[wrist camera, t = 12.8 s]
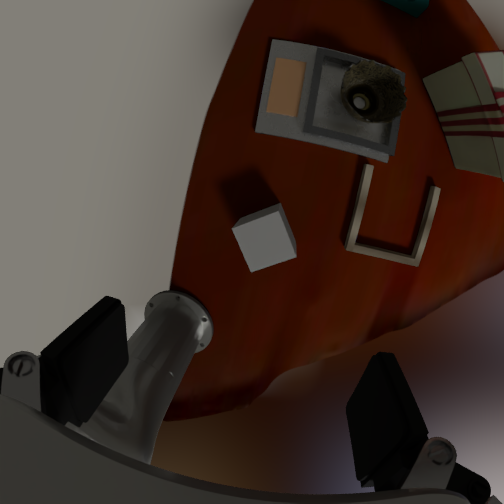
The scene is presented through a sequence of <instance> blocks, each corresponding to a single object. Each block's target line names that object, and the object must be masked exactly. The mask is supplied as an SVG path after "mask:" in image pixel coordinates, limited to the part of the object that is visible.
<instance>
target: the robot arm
mask: <svg viewBox="0 0 504 504" xmlns="http://www.w3.org/2000/svg"><path fill="white" fill-rule="evenodd" d="M212 336H213V322H212V319H211V317H210V315H209V313H208V311H207V310H206V309H205V307H204V306H203V305H202V304H201V303H200V302H199V301H198V300H196V299H195V298H193V297H192V296H190V295H188V294H186V293H183V292H179V291H173V290H170V291H163V292H160V293H158V294H156V295H154V296H153V297H152V298H151V299H150V301H149V302H148V303H147V305H146V307H145V321H144V322H143V323H142V324H141V326H140V327H139V328H138V329H137V330H136V331H135V333H134V334H133V335H132V336H131V337H130V339H129V340H128V341H127V334H126V321H125V307H124V305H123V304H121V301H120V300H119V299H116V298H113V297H109V296H105V297H104V298H103V299H101V300H100V301H99V302H98V303H96V304H95V305H94V306H93V307H92V308H90V309H89V310H88V311H87V312H86V313H84V314H83V315H82V316H81V317H80V318H79V319H77V320H76V321H75V322H74V323H73V324H72V325H70V326H69V327H68V328H67V329H66V330H65V331H64V332H62V333H61V334H60V335H59V336H58V337H57V338H56V339H55V340H53V341H52V342H51V343H50V344H49V345H48V346H47V347H46V348H44V349H43V350H42V351H41V355H39V356H36V355H34V354H33V353H30V352H26V351H21V352H16V353H14V354H12V355H10V356H9V357H8V358H7V360H6V361H5V363H4V368H0V504H502V503H501V502H500V501H499V500H498V499H497V498H496V497H495V496H494V495H493V496H491V497H490V494H491V488H490V485H489V483H488V481H487V480H486V479H485V478H483V477H482V476H480V475H478V474H476V473H475V472H472V471H471V470H469V469H467V468H465V467H463V466H462V465H460V464H458V463H456V457H457V454H456V450H455V448H454V446H453V445H452V444H451V443H450V442H449V441H448V440H446V439H444V438H442V437H433V438H430V439H428V437H427V434H428V433H429V432H428V430H427V427H426V425H425V422H424V420H423V417H422V415H421V413H420V410H419V408H418V406H417V403H416V401H415V399H414V397H413V394H412V392H411V390H410V387H409V385H408V383H407V381H406V379H405V377H404V374H403V372H402V370H401V368H400V366H399V364H398V362H397V360H396V358H395V355H394V354H393V353H386V352H378V353H377V354H376V355H373V356H372V358H371V360H370V362H369V363H368V366H367V368H366V370H365V371H364V374H363V375H362V377H361V379H360V381H359V383H358V385H357V387H356V388H355V390H354V392H353V394H352V396H351V397H350V399H349V401H348V403H347V406H346V415H347V420H348V426H349V432H350V438H351V444H352V450H353V457H354V464H355V471H356V477H357V480H359V481H360V482H361V487H373V486H374V489H375V492H370V493H356V494H355V493H354V494H315V495H314V494H291V493H278V492H268V491H259V490H251V489H245V488H238V487H233V486H227V485H222V484H216V483H212V482H207V481H204V480H199V479H195V478H192V477H188V476H184V475H181V474H177V473H173V472H170V471H167V470H164V469H161V468H158V467H155V466H152V465H150V463H151V459H152V453H153V450H154V445H155V441H156V437H157V434H158V431H159V428H160V425H161V422H162V420H163V418H164V415H165V413H166V411H167V409H168V406H169V404H170V402H171V400H172V398H173V396H174V394H175V392H176V390H177V388H178V386H179V384H180V382H181V380H182V377H183V375H184V373H185V371H186V369H187V367H188V365H189V363H190V361H191V359H192V357H193V355H194V353H196V352H199V351H201V350H203V349H204V348H206V346H207V345H208V344H209V342H210V341H211V338H212Z"/></svg>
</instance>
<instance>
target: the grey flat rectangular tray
mask: <svg viewBox="0 0 504 504" xmlns="http://www.w3.org/2000/svg"><path fill="white" fill-rule="evenodd" d="M362 59H365V58H361V57H358V56H354V55H351V54H347V53H343V52H339V51H335V50H331V49H326V48H322V47H317V46H312V45H307V44H301V43H295V42H289V41H282V40H275V39H272V44H271V49H270V54H269V59H268V64H267V70H266V75H265V80H264V86H263V91H262V96H261V102H260V107H259V113H258V118H257V124H256V129H255V132H256V133H261V134H267V135H273V136H279V137H284V138H289V139H294V140H299V141H304V142H309V143H313V144H318V145H322V146H326V147H330V148H335V149H339V150H342V151H346V152H350V153H354V154H357V155H361V156H365V157H368V158H372V159H375V160H378V161H381V162H385V163H388V158H389V156H394V153H395V148H396V142H397V136H398V130H399V123H400V117H401V116H400V117H398V118H395V119H394V120H393V121H392V122H389V123H366V122H362V121H359V120H357V119H355V118H354V117H352V116H351V115H350V114H349V113H348V112H347V111H346V109H345V108H344V106H343V104H342V101H341V95H340V90H341V84H342V79H343V76H344V74H345V72H346V71H347V70H348V69H349V67H350V66H351V65H352V64H356V63H357V62H359V61H360V60H362ZM366 60H368V59H366ZM368 61H370V60H368ZM375 63H376V64H380V63H377V62H375ZM380 65H381V66H383V67H384V66H386V65H383V64H380ZM391 68H392V67H391ZM392 70H393V71H394V72H396V73H398V74H399V75H400V77H401V80H402V82H401V83H402V86H404V83H405V73H403V72H401V71H400V70H397V69H394V68H392ZM354 104H355V106H356V107H357V108H364V107H365V100H364V99H363V98H361V97H356V98H355V99H354ZM400 113H401V112H400Z"/></svg>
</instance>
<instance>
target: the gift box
mask: <svg viewBox="0 0 504 504" xmlns="http://www.w3.org/2000/svg"><path fill="white" fill-rule="evenodd" d="M461 60H462V61H461V62H459V63H456V64H454V65H452V66H449V67H447V68H445V69H443V70H440V71H438V72H436V73H434V74H431V75H429V76H427V77H425V78H423V82H424V84H425V87H426V89H427V91H428V93H429V96H430V98H431V100H432V103H433V105H434V107H435V110H436V112H437V115H438V118H439V121H440V123H441V126H442V129H443V131H444V134H445V137H446V140H447V143H448V146H449V149H450V152H451V155H452V158H453V162H454V165H455V168H457V169H463V170H468V171H473V172H478V173H483V174H487V175H492V176H496V177H500V178H501V179H502V181H503V182H504V50H498V51H486V52H474V53H471V54H469V55H466V56H464V57H462V58H461Z"/></svg>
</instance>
